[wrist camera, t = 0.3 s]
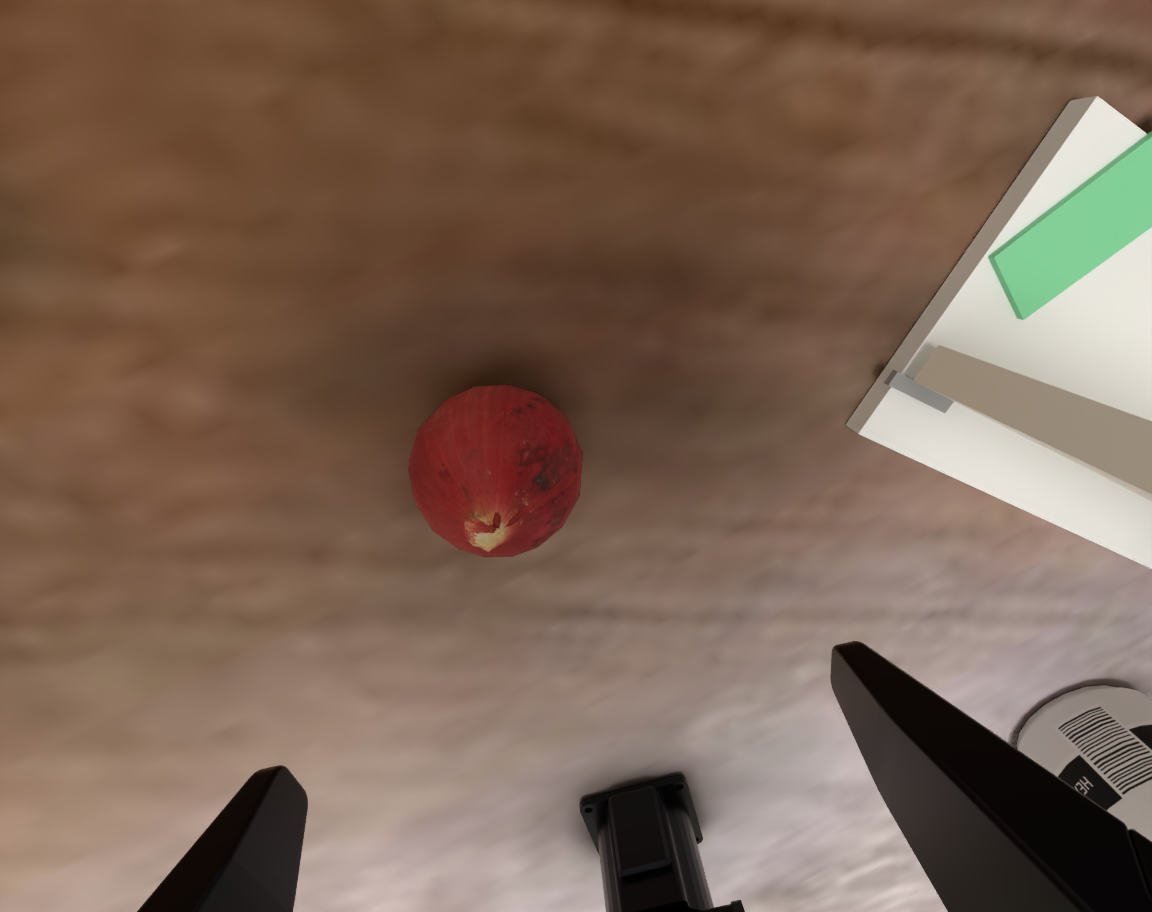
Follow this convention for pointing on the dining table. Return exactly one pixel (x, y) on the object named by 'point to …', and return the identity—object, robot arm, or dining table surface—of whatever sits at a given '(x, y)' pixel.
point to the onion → (496, 470)
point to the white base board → (1043, 328)
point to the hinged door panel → (1048, 417)
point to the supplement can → (1098, 748)
